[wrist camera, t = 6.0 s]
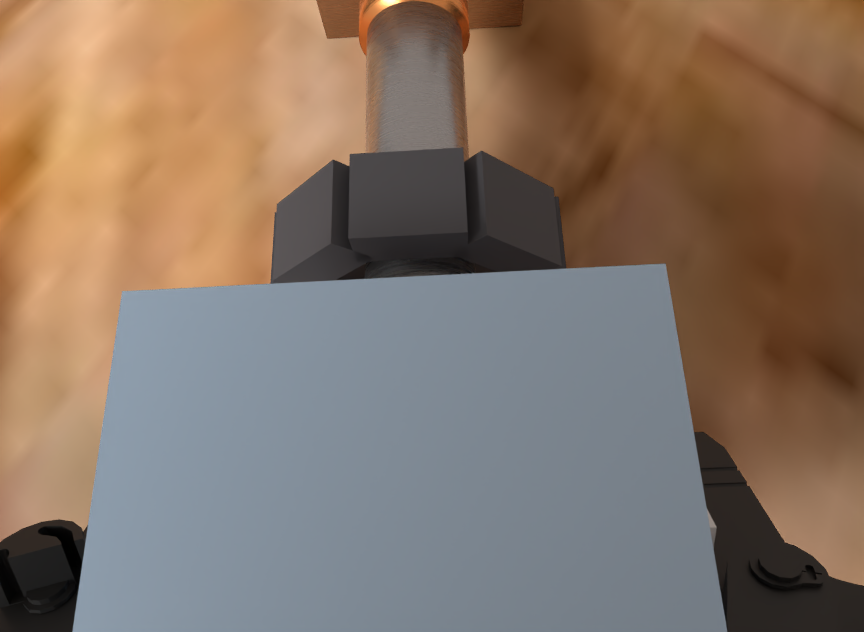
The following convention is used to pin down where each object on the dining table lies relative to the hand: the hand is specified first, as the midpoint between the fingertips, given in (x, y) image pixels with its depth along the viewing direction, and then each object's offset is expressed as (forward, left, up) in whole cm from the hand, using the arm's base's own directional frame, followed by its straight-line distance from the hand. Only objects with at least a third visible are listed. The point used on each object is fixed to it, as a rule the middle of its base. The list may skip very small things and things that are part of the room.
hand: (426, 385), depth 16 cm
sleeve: (+3, -2, -4) cm, 5 cm away
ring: (-2, +2, -2) cm, 3 cm away
